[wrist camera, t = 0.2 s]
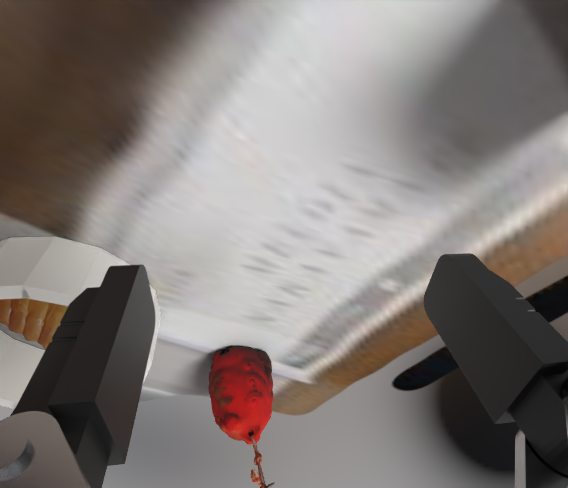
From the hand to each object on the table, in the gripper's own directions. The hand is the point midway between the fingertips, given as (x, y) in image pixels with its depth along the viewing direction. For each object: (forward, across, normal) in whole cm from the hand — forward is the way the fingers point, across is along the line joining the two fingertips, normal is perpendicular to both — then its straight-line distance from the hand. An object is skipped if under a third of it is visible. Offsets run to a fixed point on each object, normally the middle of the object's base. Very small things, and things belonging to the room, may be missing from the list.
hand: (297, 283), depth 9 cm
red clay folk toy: (+18, +1, +28) cm, 34 cm away
